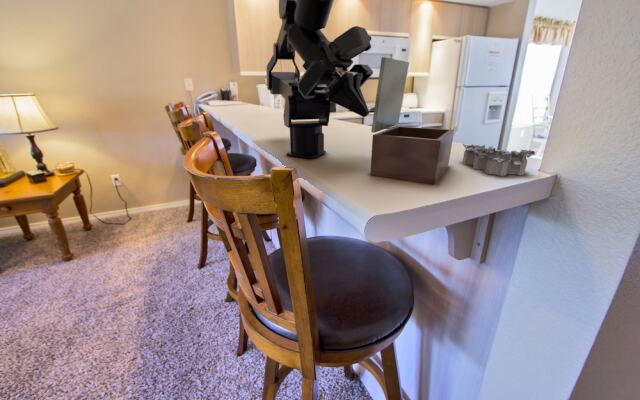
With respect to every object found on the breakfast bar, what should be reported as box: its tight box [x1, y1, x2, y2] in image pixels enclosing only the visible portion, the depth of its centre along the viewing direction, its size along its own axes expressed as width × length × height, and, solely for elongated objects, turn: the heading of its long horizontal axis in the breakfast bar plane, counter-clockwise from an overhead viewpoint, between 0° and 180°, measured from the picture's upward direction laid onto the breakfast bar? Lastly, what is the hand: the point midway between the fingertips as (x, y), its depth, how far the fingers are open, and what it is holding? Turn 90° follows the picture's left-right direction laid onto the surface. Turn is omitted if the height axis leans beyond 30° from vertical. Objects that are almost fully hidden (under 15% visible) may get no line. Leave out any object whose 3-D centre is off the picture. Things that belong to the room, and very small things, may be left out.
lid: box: [370, 56, 410, 134], centre depth 50 cm, size 11×12×1 cm
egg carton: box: [461, 143, 536, 177], centre depth 52 cm, size 11×8×4 cm
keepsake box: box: [369, 125, 455, 185], centre depth 51 cm, size 10×12×7 cm
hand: (366, 115), depth 53 cm, fingers closed
